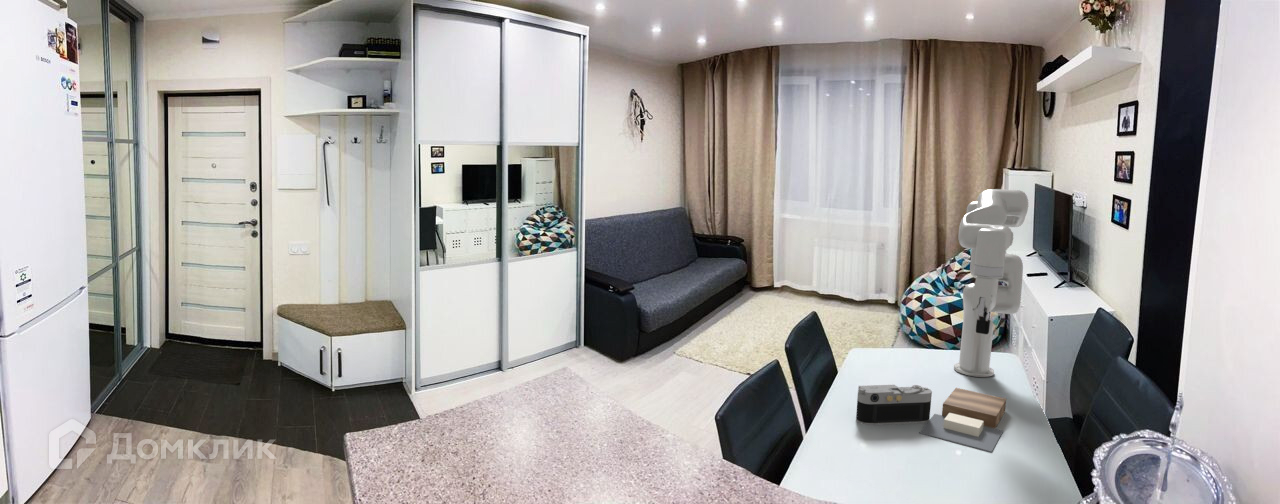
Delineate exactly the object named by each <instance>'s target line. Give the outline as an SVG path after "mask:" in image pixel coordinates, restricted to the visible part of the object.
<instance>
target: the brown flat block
mask: <svg viewBox="0 0 1280 504" xmlns="http://www.w3.org/2000/svg"><path fill="white" fill-rule="evenodd" d="M1006 405H1007V398H1005V397H1001V396H995V395H991V394H987V393H981V392H978V391H977V392H976V391H972V390H968V389H963V388H959V387H955V388H954V389H953V390H952V392H951V393H950V395H949V396H948V397H946V399H945V400H944V401H943V403H942V408H941V409H942V410H941V415H942V416H947V415H948V414H949V413H953V414H957V415H961V416H965V417H969V418H974V419H978V420H982V421H984V425H983V426H987V427H991V428H995V429H997V427H998V424H999V423H1000V421H1001V419H1002V417H1003V416H1004V414H1005V412H1006V407H1007V406H1006Z"/></svg>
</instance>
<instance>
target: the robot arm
mask: <svg viewBox="0 0 1280 504" xmlns="http://www.w3.org/2000/svg"><path fill="white" fill-rule="evenodd" d="M1028 210H1029V199H1028V196H1027V194H1026V193H1025V191H1022V190H1020V189H1002V188H995V189H994V188H993V189H991V188H990V189H986V190H984V191H981V193H979V195H978V196H977V199H976V200H975V201H972V202H970V203H968V205H967V207H966V214H965V215H964V216H963V217H962V218H961V220H960V223H959V227H958V236H957V237H958V238H957V239H958V242H959V245H960V246H961V247H962V248H965V249H971V251H970V252H971V254H970V263H969V264H970V265H969V271H970V275H971V276H972V277H973V278H974V279H975V281H974V282H972V283H968V284H967V285H965V287H964V288H963V291H962V305H963V318H962V319H963V320H962V331H961V340H960V341H961V342H960V348H959V349H960V350H959V351H960V352H959V360H958V362H956V363H954V365H953V369H954V370H955V372H957V373H959V374H963V375H964V376H965V375H966V376H969V377H975V378H989V377H993V376H994V374H995V371H994V369H993V368H992V367H990V366H991V365H990V364H991V354H992V347H993V346H992V345H993V343H992V342H993V334H994V328H995V327H994V323H993V320H992V319H991V316H992V315H991V313H995V314H997V313H998V314H1006V315H1015V314H1017V313H1018V312H1019V310H1020V306H1021V302H1022V301H1021V300H1022V287H1023V276H1024V275H1023V274H1024V265H1023V260H1022V258H1021V257H1020V256H1019V255H1016V254H1013V253H1006V250H1008V249H1009V248H1010V247H1011V246H1012V245H1013V242H1014V232H1013V231H1012V229H1011V228H1018V227H1021V226H1022V225H1023V224H1024V222H1025V220H1026V216H1027V213H1028ZM999 282H1004V283H1005V284H1006V285H1003V284H999Z"/></svg>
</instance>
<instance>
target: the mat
mask: <svg viewBox="0 0 1280 504" xmlns="http://www.w3.org/2000/svg"><path fill="white" fill-rule="evenodd" d="M945 418H946V416H942V414H937V413H934V414H932V416H931V418H930V419H929V421H928V422H927V423H925V425H924V426H923V427H922V429H921V430H920V431H919V432H918V434H920V435H925V436H929V437H932V438H936V439H940V440H943V441H946V442H947V441H948V442H951V443H955V444H959V445H962V446H967V447H969V448H973V449H977V450H980V451H984V452H989V453H992V452H993V450H994V449H995V448H996V445H997V444H998V441H999V439H1000V438H1001V435H1002V434H1003V431H1004V430H1003V429H998V428H991V427H987V426H983V430H982V432H981V434H980V435H979V437H977V436H973V435H969V434H965V433H962V432H958V431H954V430H950V429H946V428H943V426H944V419H945Z"/></svg>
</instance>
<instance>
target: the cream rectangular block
mask: <svg viewBox="0 0 1280 504" xmlns="http://www.w3.org/2000/svg"><path fill="white" fill-rule="evenodd" d="M983 425H984V421H982V420H978V419H974V418H969V417H965V416H961V415H957V414H953V413H949V414H948V415H947V416H946V418H945V419H944V426H943V428H946V429H950V430H954V431H958V432H962V433H965V434H969V435H973V436H977V437H979V435H980V434H981V432H982V430H983Z"/></svg>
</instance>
